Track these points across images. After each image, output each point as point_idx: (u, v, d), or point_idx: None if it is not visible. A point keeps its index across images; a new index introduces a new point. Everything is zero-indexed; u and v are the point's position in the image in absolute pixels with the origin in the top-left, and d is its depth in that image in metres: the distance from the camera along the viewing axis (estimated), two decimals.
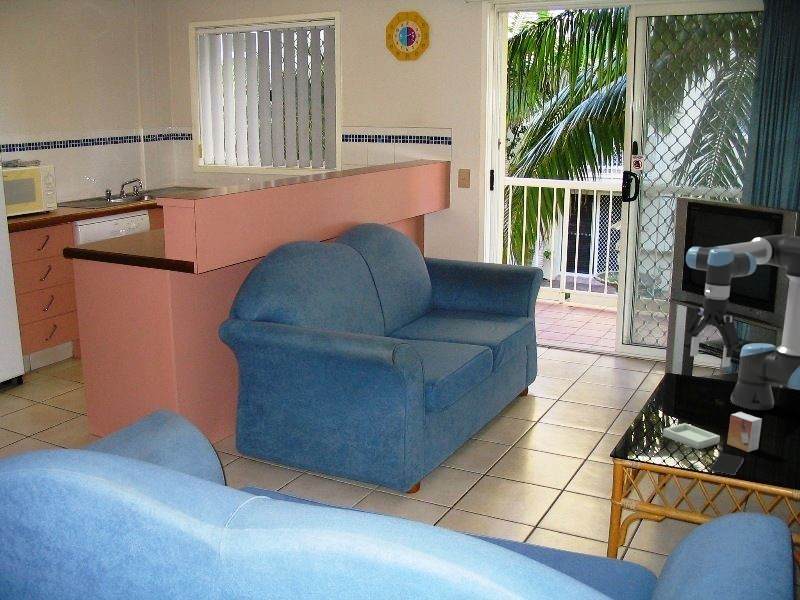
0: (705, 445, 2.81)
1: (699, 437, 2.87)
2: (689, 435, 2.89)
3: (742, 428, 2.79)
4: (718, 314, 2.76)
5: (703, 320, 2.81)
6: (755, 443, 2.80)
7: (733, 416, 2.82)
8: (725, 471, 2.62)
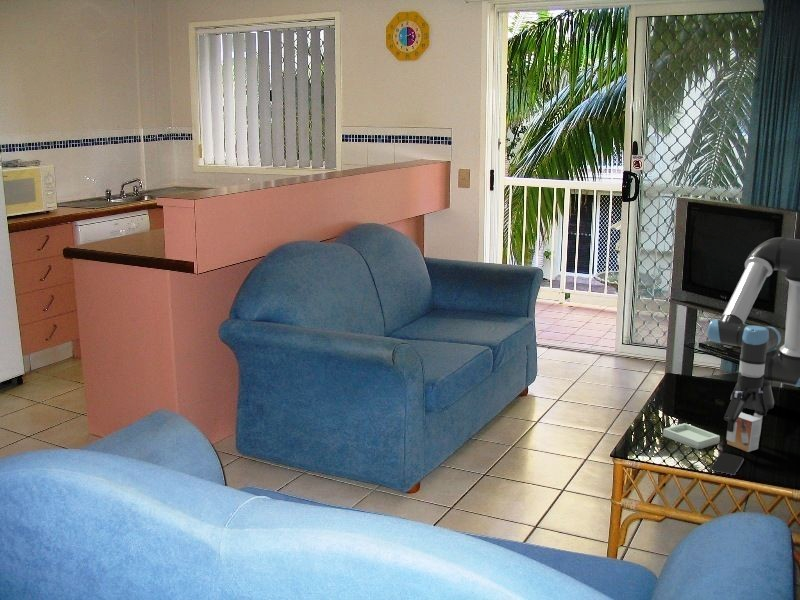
0: (705, 445, 2.81)
1: (699, 437, 2.87)
2: (689, 435, 2.89)
3: (742, 428, 2.79)
4: None
5: None
6: (755, 443, 2.80)
7: None
8: (725, 471, 2.62)
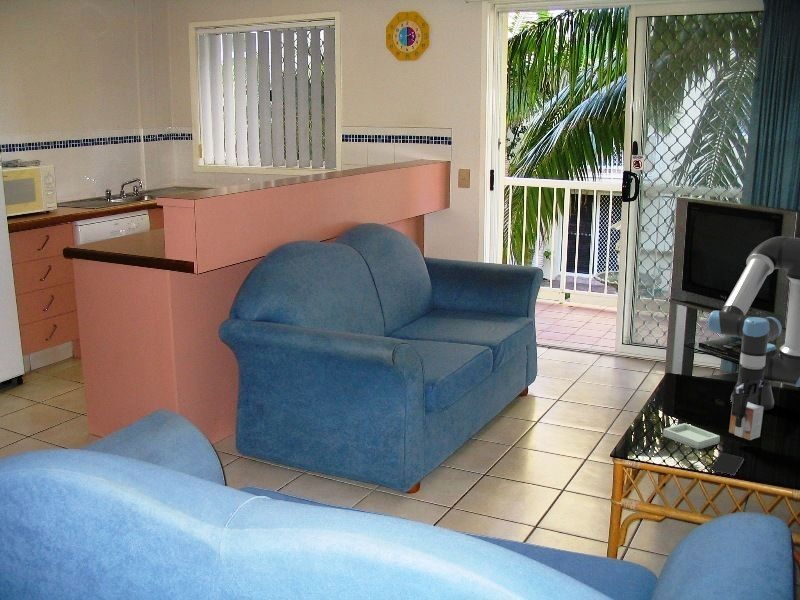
0: (705, 445, 2.81)
1: (699, 437, 2.87)
2: (689, 435, 2.89)
3: (744, 416, 2.79)
4: None
5: None
6: (756, 431, 2.79)
7: None
8: (725, 471, 2.62)
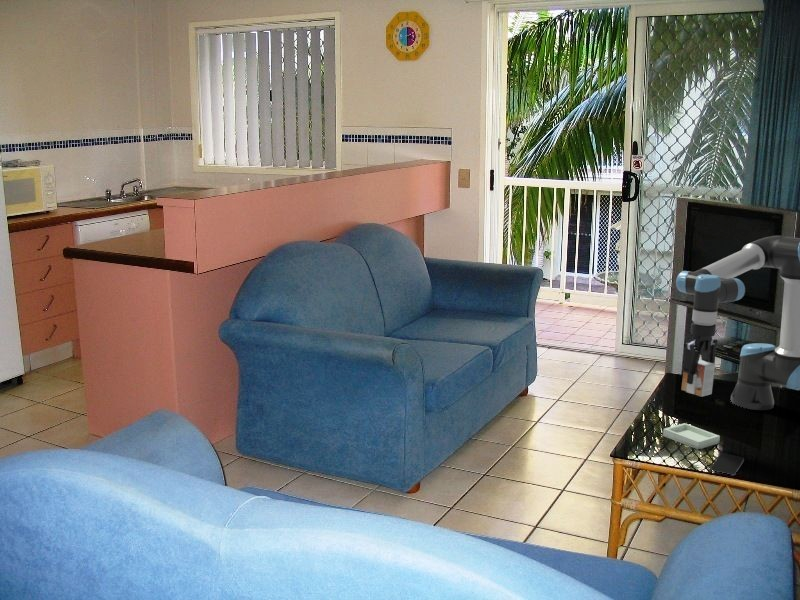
0: (705, 445, 2.81)
1: (699, 437, 2.87)
2: (689, 435, 2.89)
3: (696, 373, 2.81)
4: None
5: None
6: (708, 388, 2.81)
7: None
8: (725, 471, 2.62)
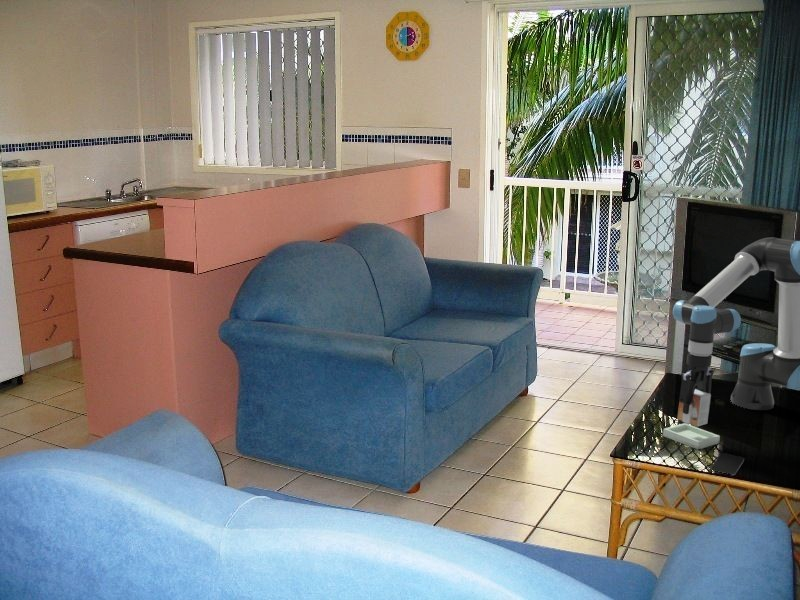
0: (705, 445, 2.81)
1: (699, 437, 2.87)
2: (689, 435, 2.89)
3: (692, 403, 2.83)
4: None
5: None
6: (704, 418, 2.83)
7: None
8: (725, 471, 2.62)
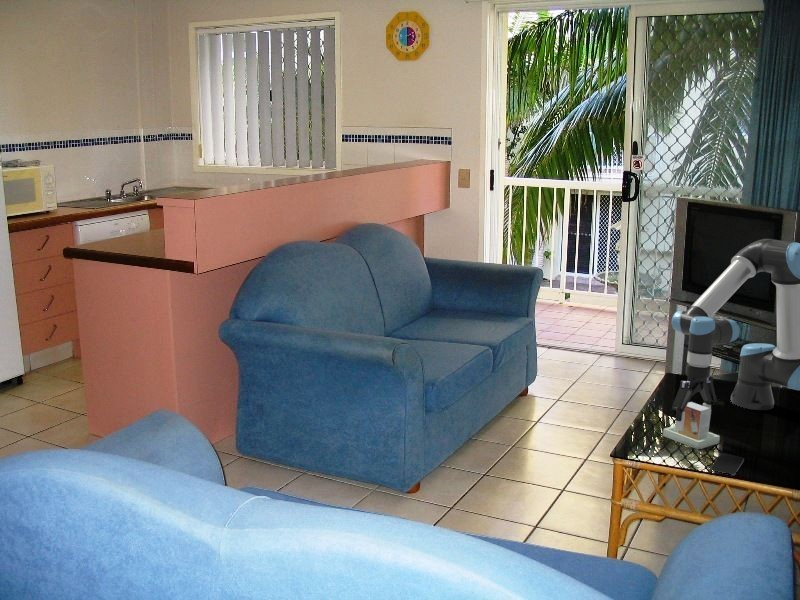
0: (705, 445, 2.81)
1: None
2: None
3: (692, 418, 2.85)
4: None
5: None
6: (704, 433, 2.85)
7: None
8: (725, 471, 2.62)
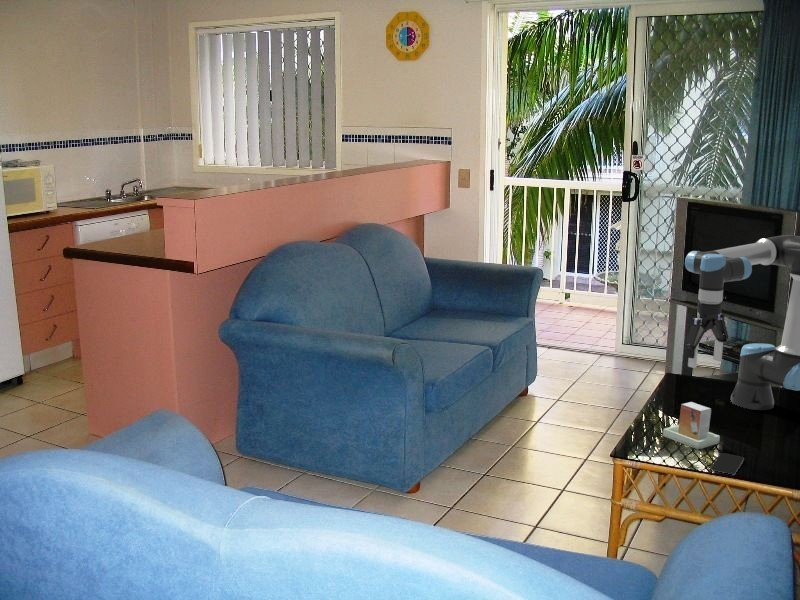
0: (705, 445, 2.81)
1: None
2: None
3: (692, 418, 2.85)
4: None
5: None
6: (704, 433, 2.85)
7: (683, 406, 2.87)
8: (725, 471, 2.62)
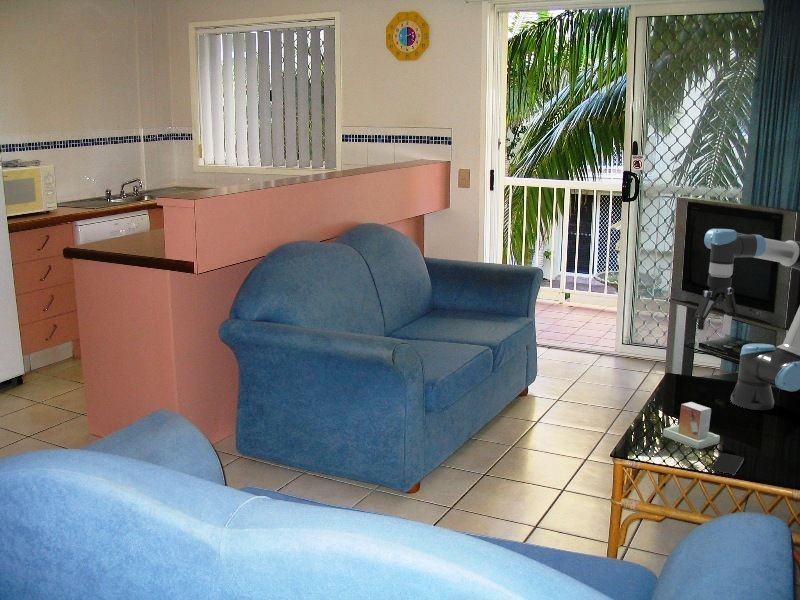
0: (705, 445, 2.81)
1: None
2: None
3: (692, 418, 2.85)
4: None
5: None
6: (704, 433, 2.85)
7: (683, 406, 2.87)
8: (725, 471, 2.62)
